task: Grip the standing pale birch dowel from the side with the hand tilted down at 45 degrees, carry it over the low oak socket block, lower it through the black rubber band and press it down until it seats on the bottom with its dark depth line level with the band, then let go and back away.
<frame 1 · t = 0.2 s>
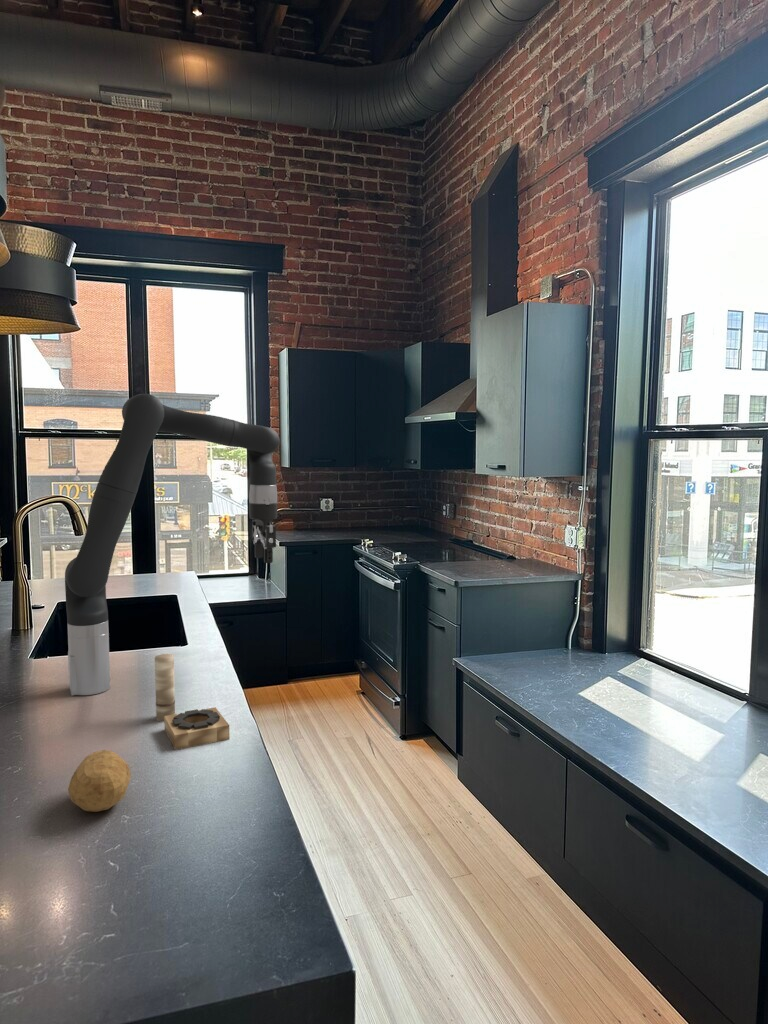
hand: (263, 560, 191), 29 cm above the counter, tool pointing down, fingers open, 8 cm apart
socket: (196, 734, 147), on the counter
potato: (101, 805, 119), on the counter
dowel: (165, 717, 156), on the counter
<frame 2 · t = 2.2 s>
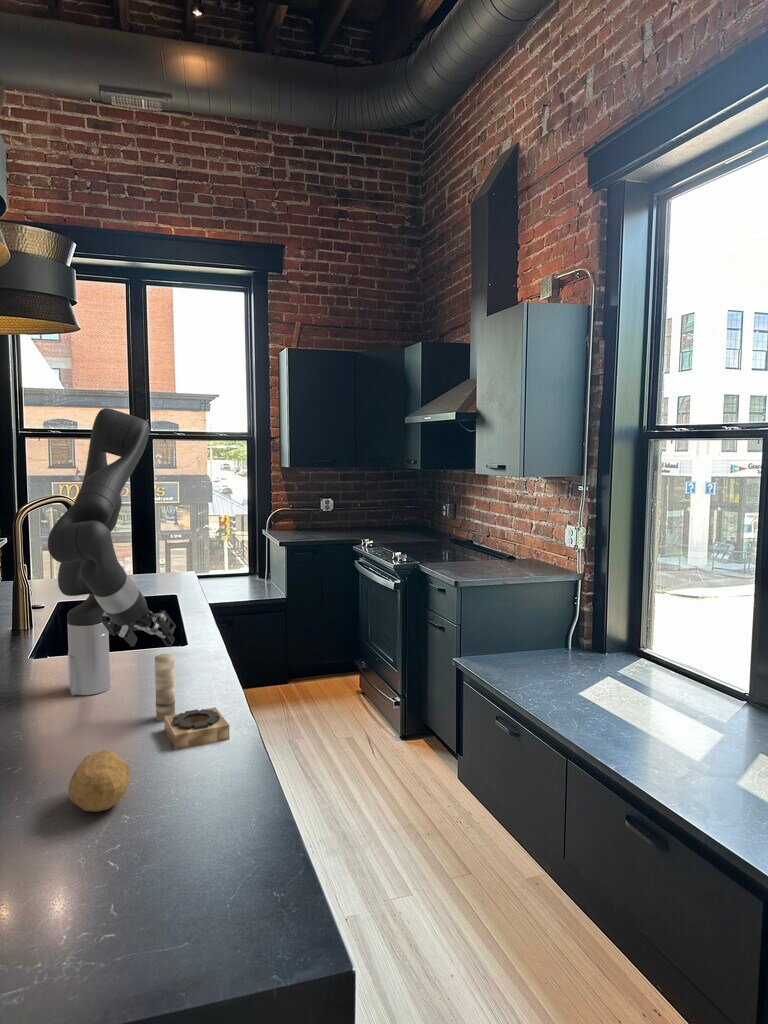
hand: (152, 643, 149), 18 cm above the counter, tool tilted 40°, fingers open, 8 cm apart
nothing on the counter moved.
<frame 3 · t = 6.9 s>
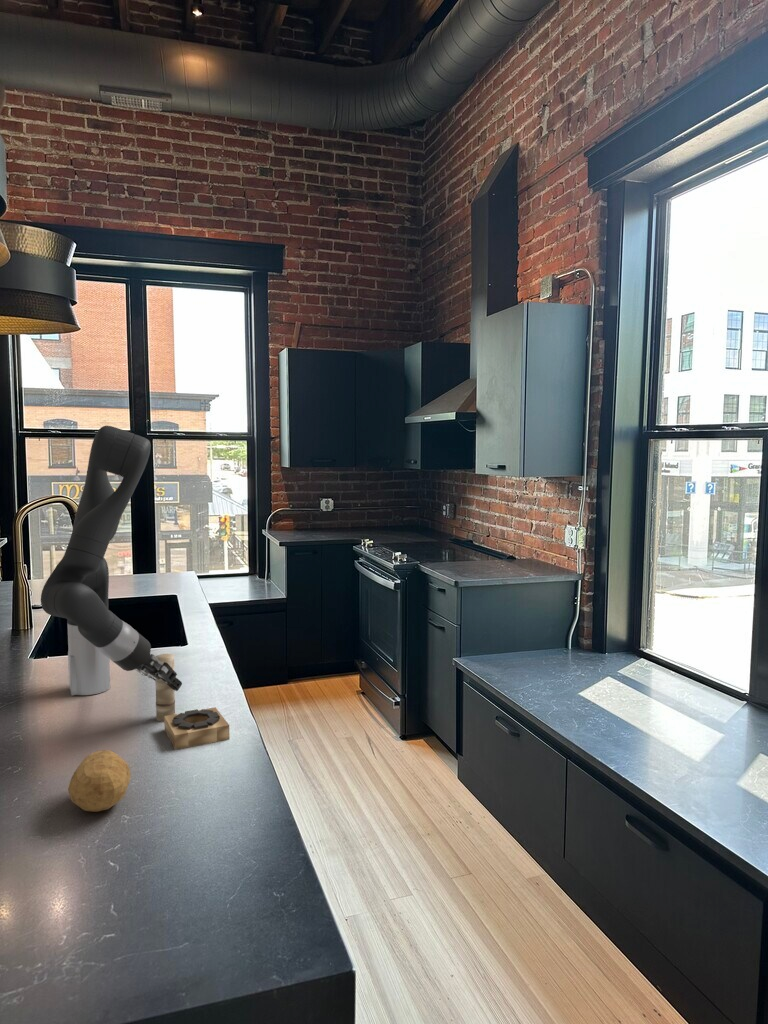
hand: (172, 684, 156), 7 cm above the counter, tool tilted 45°, fingers closed on dowel, 4 cm apart
dowel: (165, 717, 156), on the counter, touching gripper
everything else where it was.
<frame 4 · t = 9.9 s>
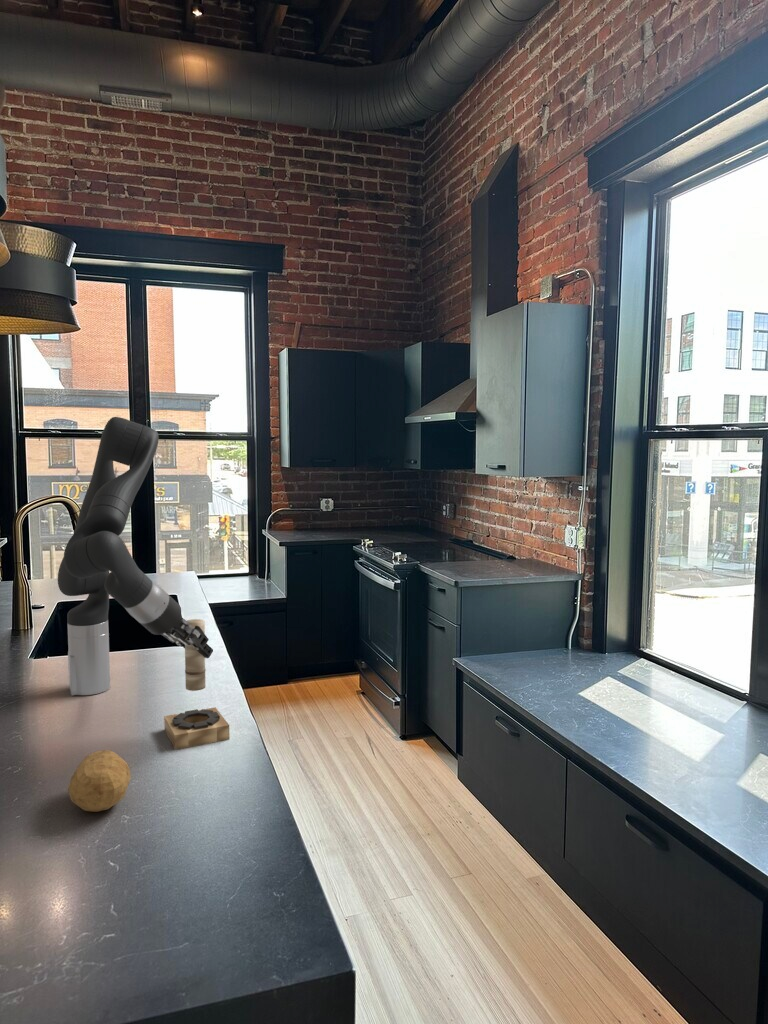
hand: (202, 652, 147), 17 cm above the counter, tool tilted 45°, fingers closed on dowel, 4 cm apart
dowel: (195, 687, 146), point 10 cm above the counter, touching gripper
everything else where it was.
when the fingers open (7 cm above the counter, at t = 13.0 s): dowel stays where it is, resting in socket.
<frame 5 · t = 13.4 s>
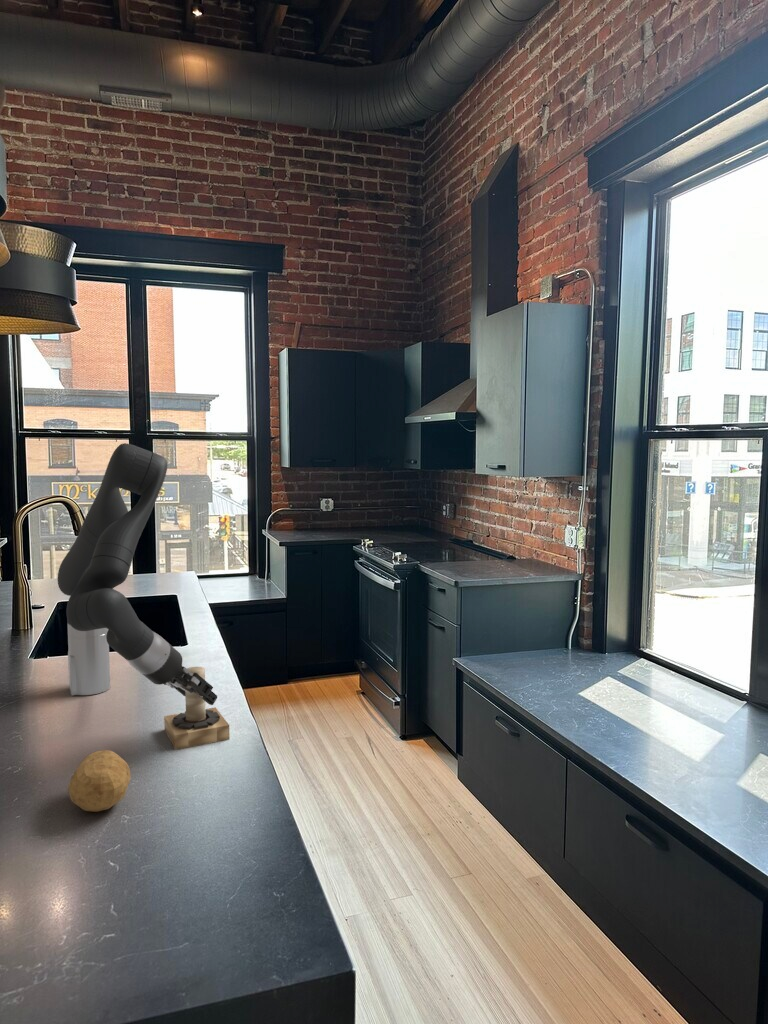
hand: (201, 696, 147), 8 cm above the counter, tool tilted 45°, fingers open, 7 cm apart
dowel: (196, 734, 147), resting in socket
everything else where it was.
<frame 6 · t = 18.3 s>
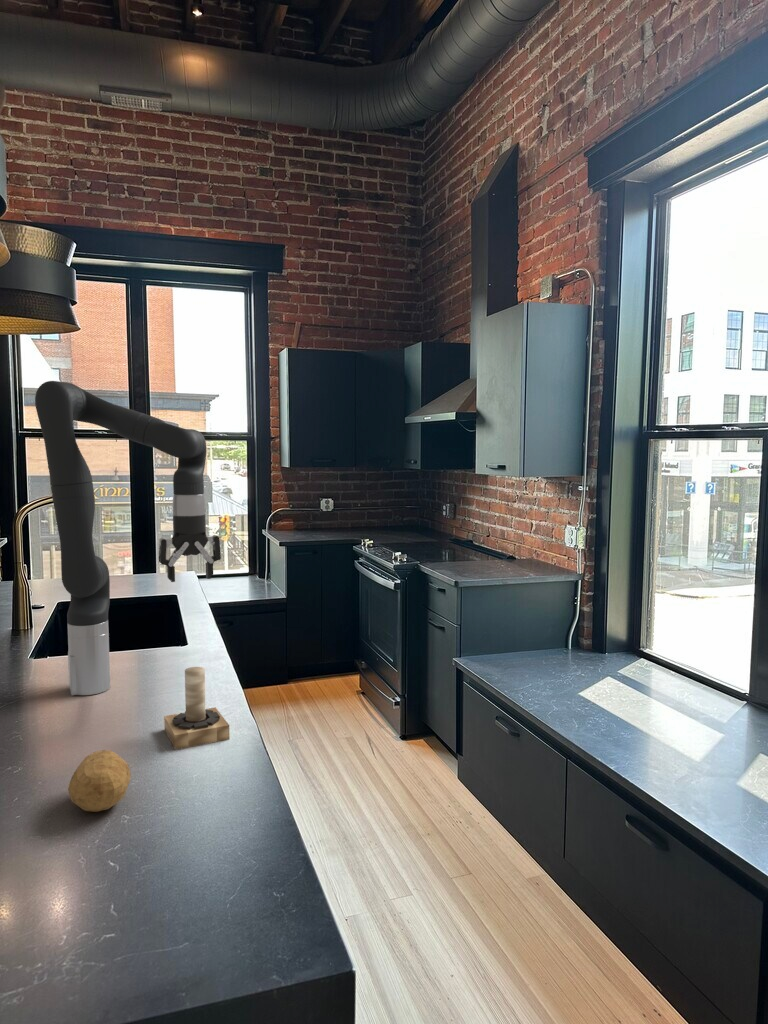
hand: (190, 579, 168), 28 cm above the counter, tool pointing down, fingers open, 8 cm apart
nothing on the counter moved.
at the end: dowel 0.1 cm off-centre on the socket, point 0.0 cm above the socket's base; dowel tilted 0°; the gripper is holding nothing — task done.
